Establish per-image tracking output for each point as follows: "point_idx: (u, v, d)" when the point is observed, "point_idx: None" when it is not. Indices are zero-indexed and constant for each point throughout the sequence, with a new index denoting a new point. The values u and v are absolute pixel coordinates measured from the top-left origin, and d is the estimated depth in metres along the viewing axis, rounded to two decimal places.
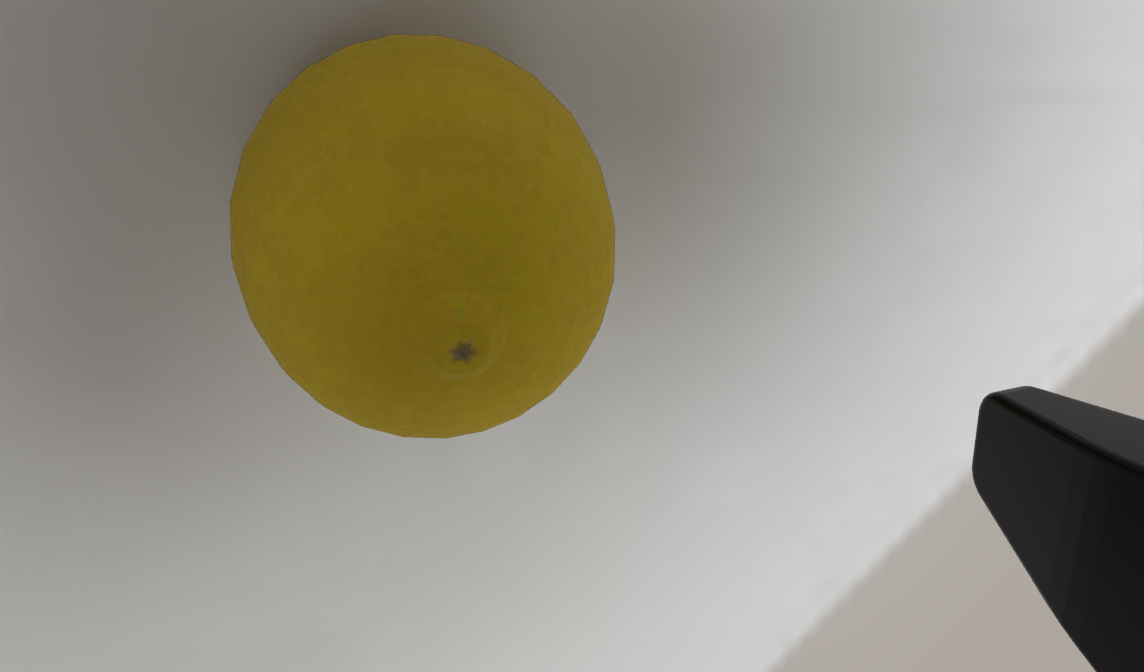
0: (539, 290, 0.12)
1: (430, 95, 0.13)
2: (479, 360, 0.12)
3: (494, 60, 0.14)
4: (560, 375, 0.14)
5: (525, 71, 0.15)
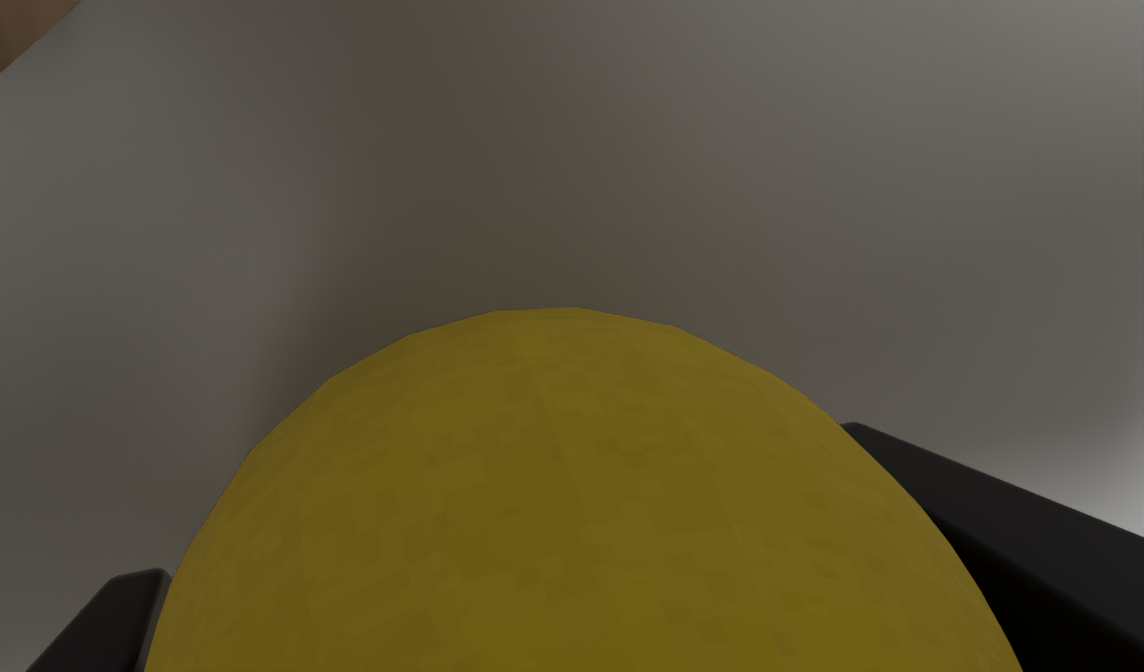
0: None
1: None
2: None
3: (786, 441, 0.06)
4: None
5: (828, 425, 0.06)
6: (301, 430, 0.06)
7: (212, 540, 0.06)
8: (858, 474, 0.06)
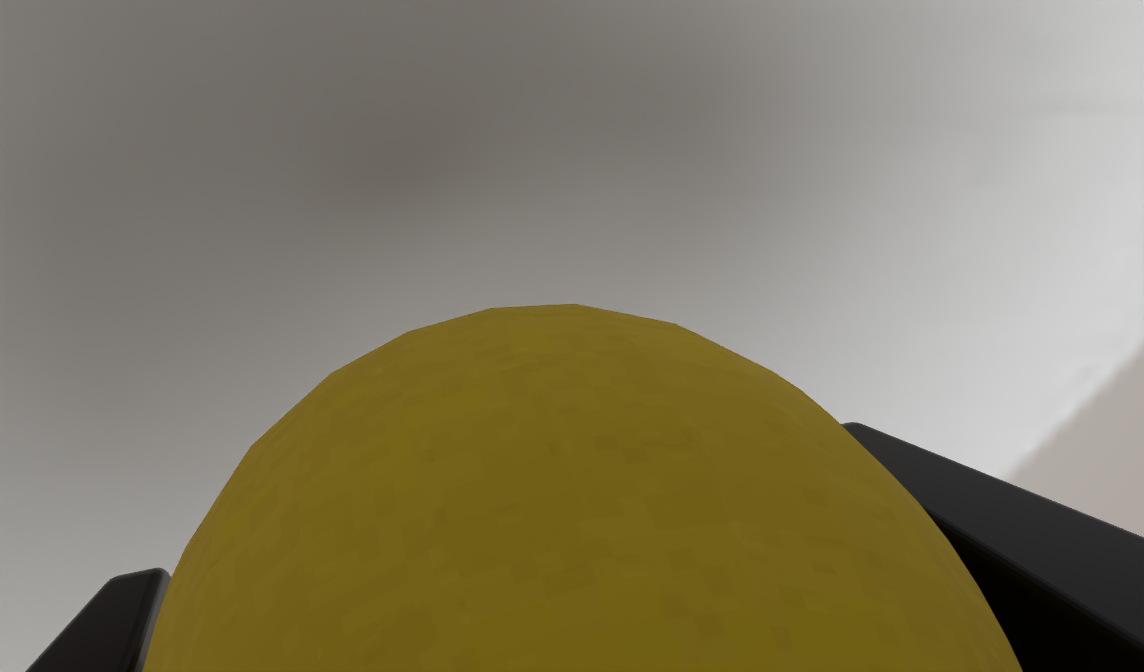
0: None
1: None
2: None
3: (784, 437, 0.06)
4: None
5: (827, 422, 0.06)
6: (300, 427, 0.06)
7: (211, 536, 0.06)
8: (856, 470, 0.06)
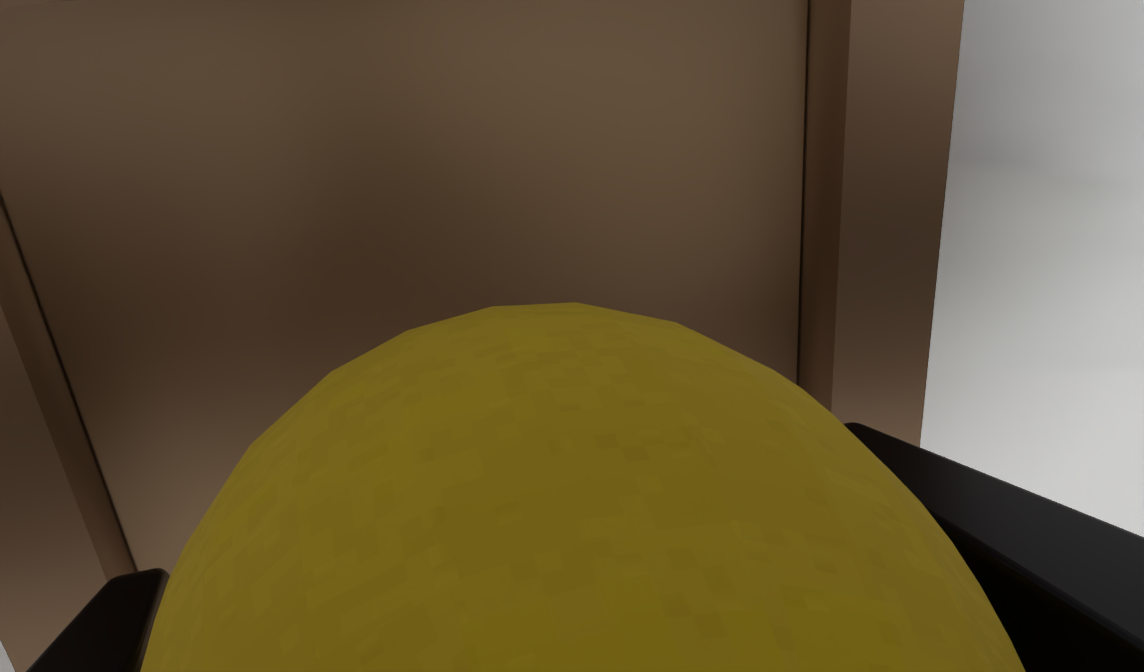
0: None
1: None
2: None
3: (786, 436, 0.06)
4: None
5: (828, 421, 0.06)
6: (300, 425, 0.06)
7: (210, 535, 0.06)
8: (858, 469, 0.06)
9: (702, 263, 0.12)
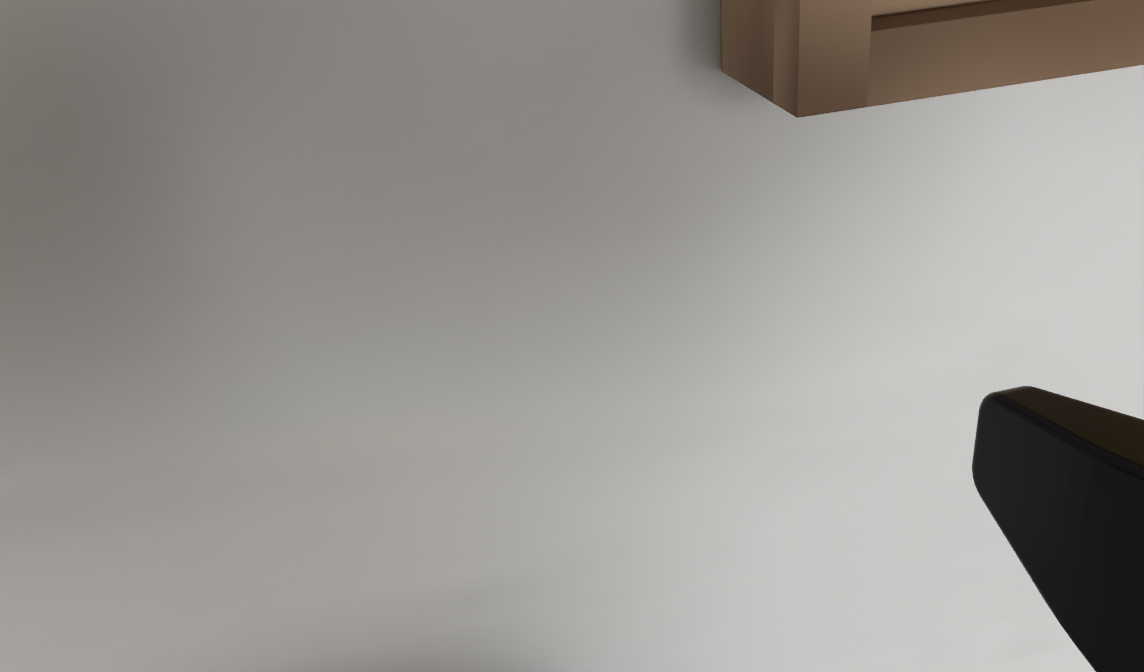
0: None
1: None
2: None
3: None
4: None
5: None
6: None
7: None
8: None
9: None
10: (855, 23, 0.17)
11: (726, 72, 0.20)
